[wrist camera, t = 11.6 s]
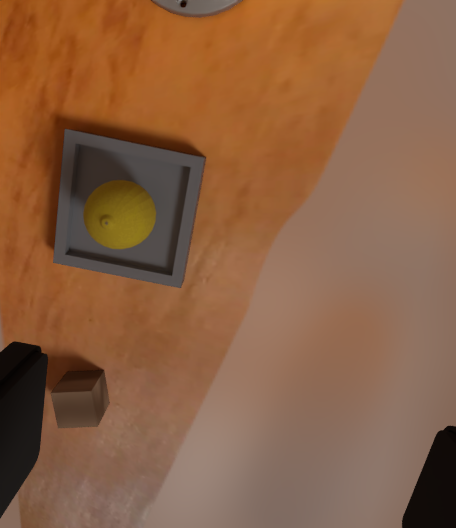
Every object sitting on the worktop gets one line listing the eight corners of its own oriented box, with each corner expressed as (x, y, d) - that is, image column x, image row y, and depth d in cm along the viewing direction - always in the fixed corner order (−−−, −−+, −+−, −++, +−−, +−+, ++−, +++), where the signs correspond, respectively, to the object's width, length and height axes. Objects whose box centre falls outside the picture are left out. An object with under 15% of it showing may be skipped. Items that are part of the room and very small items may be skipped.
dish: (74, 129, 37) (64, 128, 35) (206, 157, 37) (204, 157, 35) (63, 256, 40) (53, 262, 38) (183, 280, 41) (180, 288, 39)
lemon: (162, 239, 38) (143, 262, 31) (103, 235, 38) (69, 257, 31) (164, 178, 37) (144, 187, 29) (102, 174, 37) (66, 182, 29)
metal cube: (67, 371, 44) (50, 392, 40) (104, 369, 44) (91, 391, 40) (73, 404, 45) (58, 428, 41) (109, 402, 45) (97, 426, 41)
